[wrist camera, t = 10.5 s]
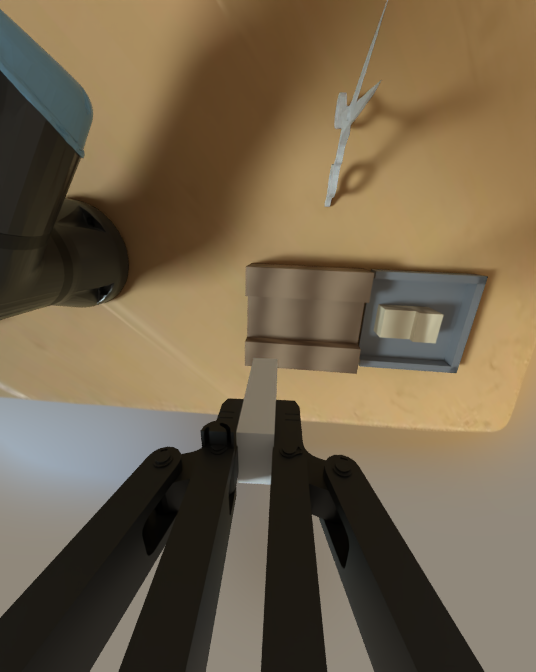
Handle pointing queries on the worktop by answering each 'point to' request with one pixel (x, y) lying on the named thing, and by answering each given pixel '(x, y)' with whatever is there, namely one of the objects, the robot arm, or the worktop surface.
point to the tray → (423, 291)
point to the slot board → (306, 315)
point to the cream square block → (394, 321)
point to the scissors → (348, 120)
